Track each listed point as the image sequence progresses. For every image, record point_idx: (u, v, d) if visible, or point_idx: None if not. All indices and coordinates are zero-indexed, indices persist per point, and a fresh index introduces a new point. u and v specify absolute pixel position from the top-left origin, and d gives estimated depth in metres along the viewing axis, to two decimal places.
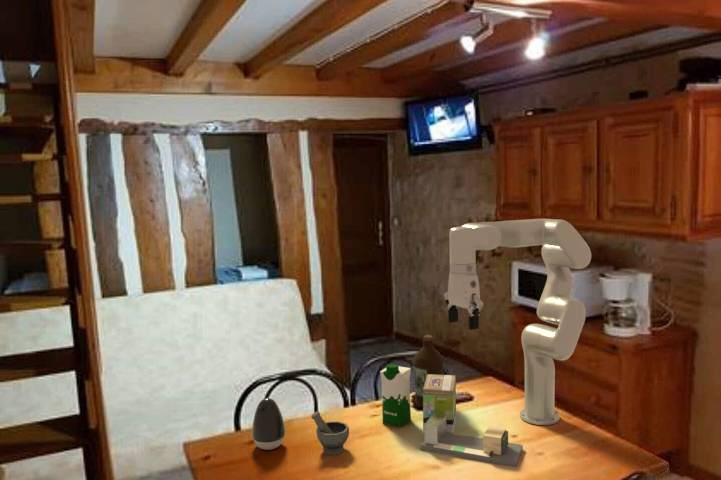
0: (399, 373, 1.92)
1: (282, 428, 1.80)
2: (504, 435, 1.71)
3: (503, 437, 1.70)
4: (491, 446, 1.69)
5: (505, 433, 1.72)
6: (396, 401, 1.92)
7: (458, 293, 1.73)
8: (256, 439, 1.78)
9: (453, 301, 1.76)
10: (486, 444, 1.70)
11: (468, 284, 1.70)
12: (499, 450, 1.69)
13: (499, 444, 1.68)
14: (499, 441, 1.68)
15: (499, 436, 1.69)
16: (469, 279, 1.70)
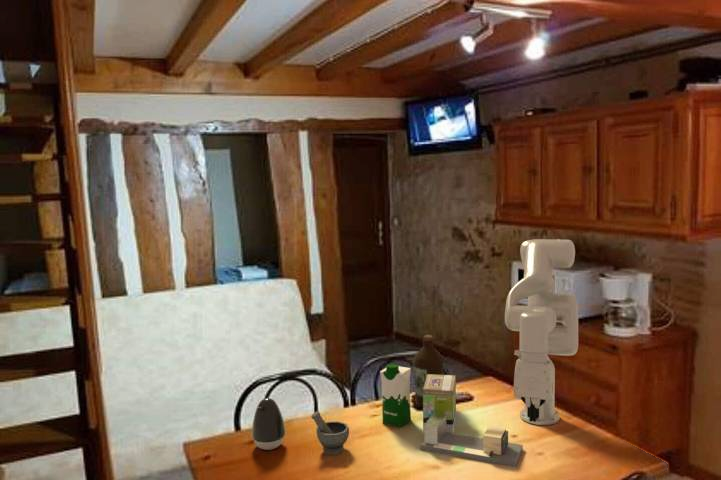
0: (399, 373, 1.92)
1: (282, 428, 1.80)
2: (504, 435, 1.71)
3: (503, 437, 1.70)
4: (491, 446, 1.69)
5: (505, 433, 1.72)
6: (396, 401, 1.92)
7: None
8: (256, 439, 1.78)
9: None
10: (486, 444, 1.70)
11: None
12: (499, 450, 1.69)
13: (499, 444, 1.68)
14: (499, 441, 1.68)
15: (499, 436, 1.69)
16: None
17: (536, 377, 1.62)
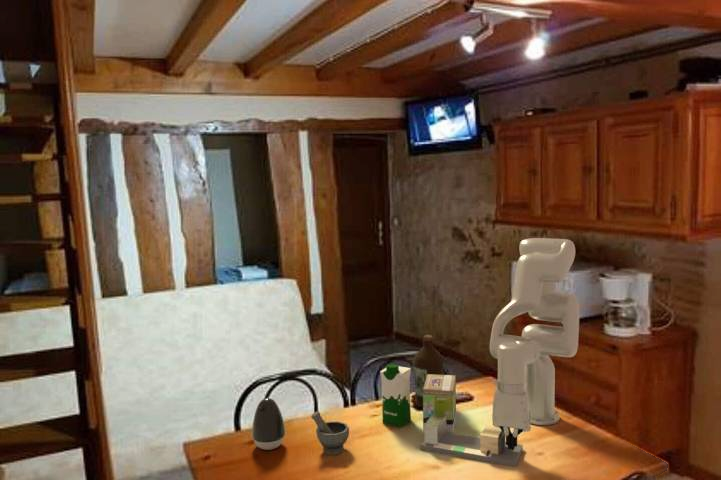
0: (399, 373, 1.92)
1: (282, 428, 1.80)
2: (501, 435, 1.71)
3: (500, 437, 1.70)
4: (488, 445, 1.70)
5: (502, 433, 1.72)
6: (396, 401, 1.92)
7: None
8: (256, 439, 1.78)
9: None
10: (484, 443, 1.70)
11: None
12: (496, 449, 1.69)
13: (496, 444, 1.69)
14: (496, 441, 1.69)
15: (496, 436, 1.70)
16: None
17: (514, 407, 1.66)
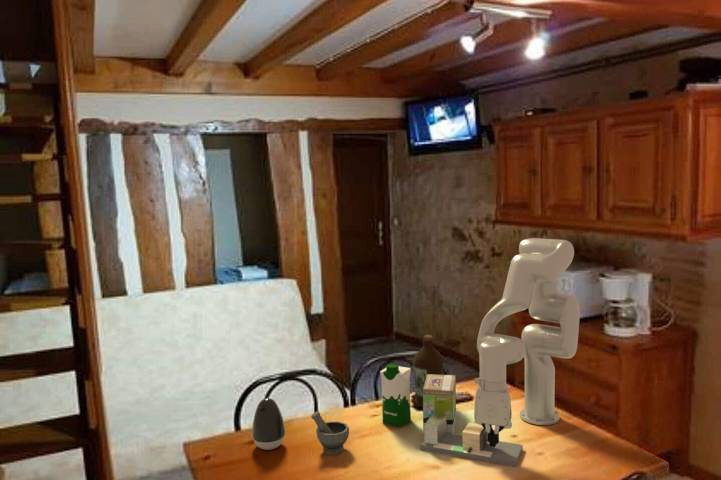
0: (399, 373, 1.92)
1: (282, 428, 1.80)
2: (483, 432, 1.73)
3: (482, 434, 1.72)
4: (470, 442, 1.72)
5: (484, 430, 1.75)
6: (396, 401, 1.92)
7: None
8: (256, 439, 1.78)
9: None
10: (466, 440, 1.73)
11: None
12: (478, 446, 1.71)
13: (478, 440, 1.71)
14: (478, 437, 1.71)
15: (477, 433, 1.72)
16: None
17: (495, 405, 1.68)
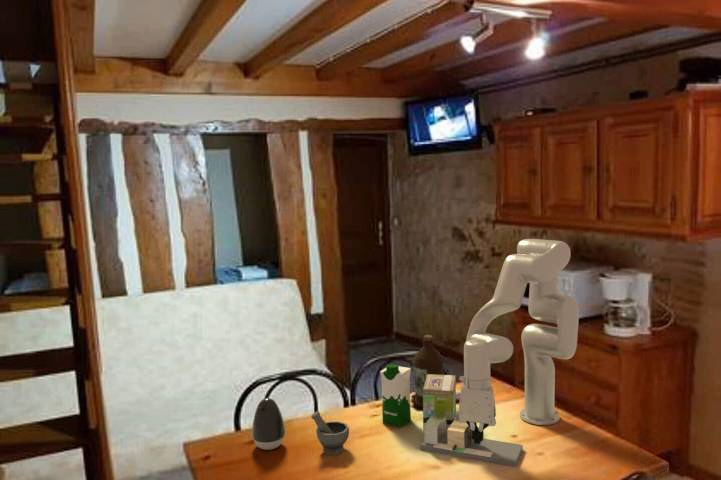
0: (399, 373, 1.92)
1: (282, 428, 1.80)
2: (468, 429, 1.75)
3: (466, 431, 1.74)
4: (455, 440, 1.74)
5: (469, 427, 1.77)
6: (396, 401, 1.92)
7: None
8: (256, 439, 1.78)
9: None
10: (450, 438, 1.75)
11: None
12: (462, 444, 1.73)
13: (462, 438, 1.73)
14: (462, 435, 1.73)
15: (462, 430, 1.74)
16: None
17: (479, 403, 1.70)
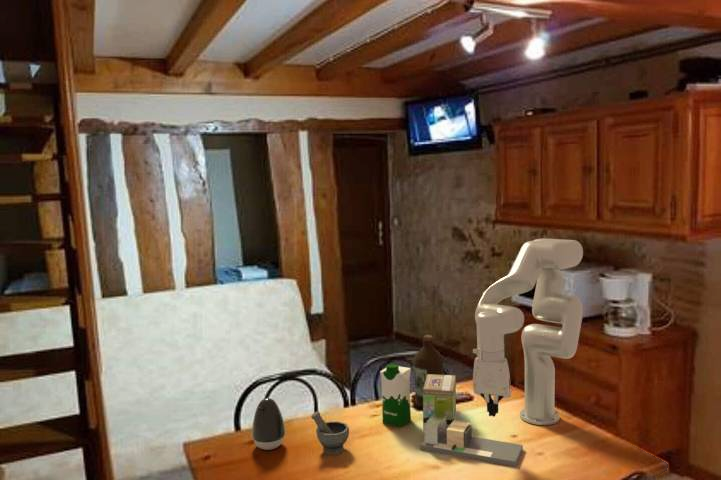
0: (399, 373, 1.92)
1: (282, 428, 1.80)
2: (467, 429, 1.75)
3: (466, 431, 1.74)
4: (454, 440, 1.74)
5: (468, 427, 1.77)
6: (396, 401, 1.92)
7: None
8: (256, 439, 1.78)
9: None
10: (450, 438, 1.75)
11: None
12: (462, 444, 1.73)
13: (462, 438, 1.73)
14: (462, 435, 1.73)
15: (461, 430, 1.74)
16: None
17: (493, 375, 1.68)
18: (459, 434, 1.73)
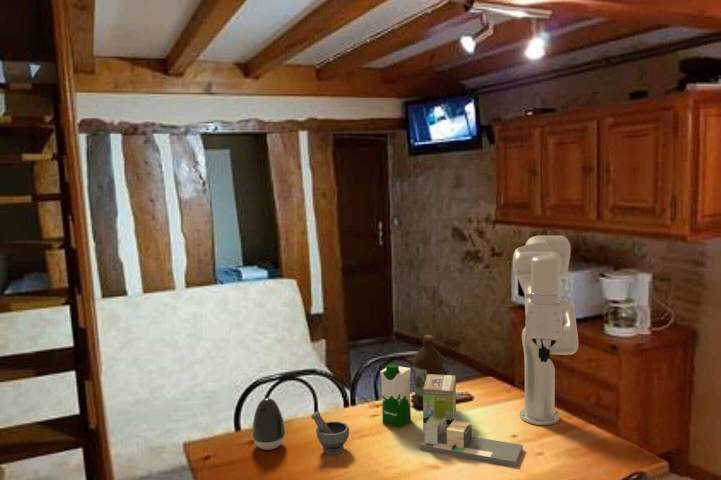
0: (399, 373, 1.92)
1: (282, 428, 1.80)
2: (467, 429, 1.75)
3: (466, 431, 1.74)
4: (454, 440, 1.74)
5: (468, 427, 1.77)
6: (396, 401, 1.92)
7: None
8: (256, 439, 1.78)
9: None
10: (450, 438, 1.75)
11: None
12: (462, 444, 1.73)
13: (462, 438, 1.73)
14: (462, 435, 1.73)
15: (461, 430, 1.74)
16: None
17: (547, 318, 1.67)
18: (459, 434, 1.73)
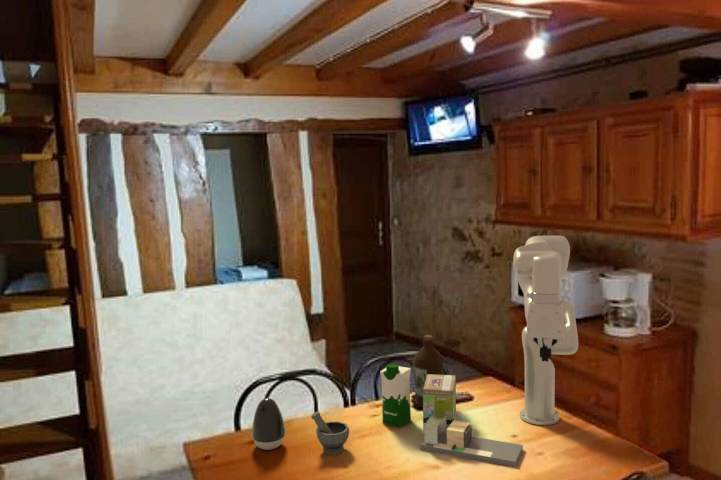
0: (399, 373, 1.92)
1: (282, 428, 1.80)
2: (467, 429, 1.75)
3: (466, 431, 1.74)
4: (454, 440, 1.74)
5: (468, 427, 1.77)
6: (396, 401, 1.92)
7: None
8: (256, 439, 1.78)
9: None
10: (450, 438, 1.75)
11: None
12: (462, 444, 1.73)
13: (462, 438, 1.73)
14: (462, 435, 1.73)
15: (461, 430, 1.74)
16: None
17: (548, 318, 1.67)
18: (459, 434, 1.73)
